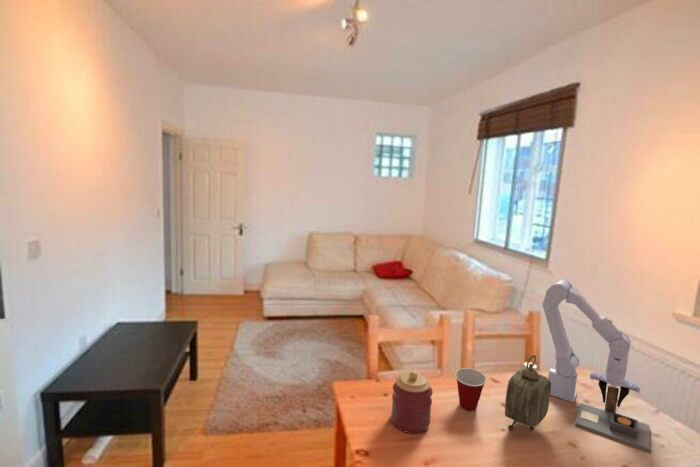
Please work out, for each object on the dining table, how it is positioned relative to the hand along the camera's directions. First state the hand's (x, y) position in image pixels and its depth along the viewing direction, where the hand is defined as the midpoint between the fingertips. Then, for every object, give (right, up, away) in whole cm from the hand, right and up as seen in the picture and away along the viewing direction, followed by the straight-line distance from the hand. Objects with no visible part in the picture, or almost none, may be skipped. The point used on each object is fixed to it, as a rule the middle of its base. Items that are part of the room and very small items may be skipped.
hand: (611, 403), depth 137 cm
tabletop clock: (-36, -3, -10) cm, 37 cm away
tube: (-29, -2, +3) cm, 29 cm away
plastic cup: (-51, -1, 0) cm, 51 cm away
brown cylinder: (0, -3, 0) cm, 3 cm away
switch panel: (-6, -4, -9) cm, 11 cm away
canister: (-74, -2, -10) cm, 74 cm away
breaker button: (-3, -2, -11) cm, 12 cm away
